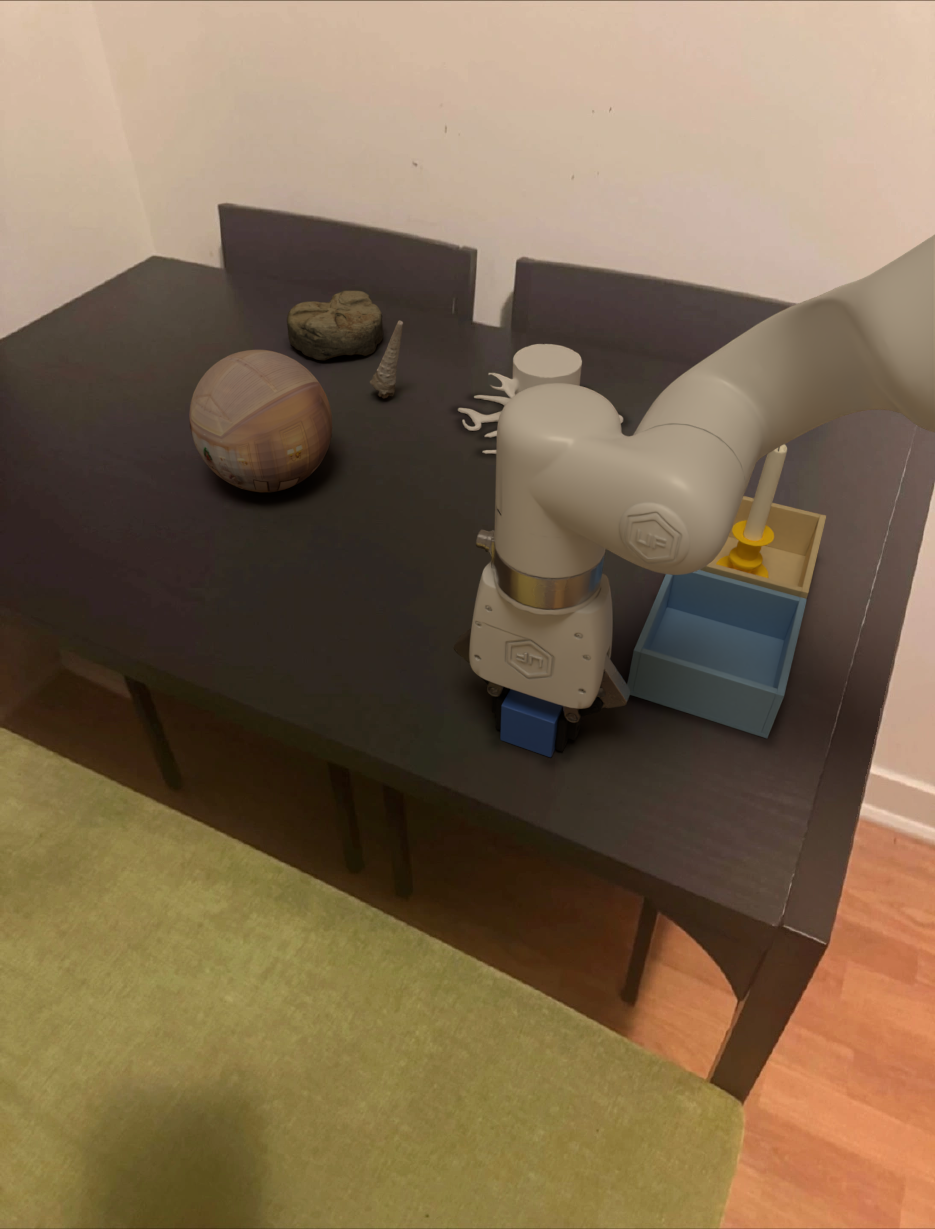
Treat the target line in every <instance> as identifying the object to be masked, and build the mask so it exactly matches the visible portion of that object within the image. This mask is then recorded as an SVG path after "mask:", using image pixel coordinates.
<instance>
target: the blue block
mask: <svg viewBox="0 0 935 1229" xmlns="http://www.w3.org/2000/svg"><path fill="white" fill-rule="evenodd" d="M562 710H563V707H562V705H559V704H556V703H552V702H549V701H546V700H543V699H540V698H537V697H534V696H531V695H528V694H525V693H522V692H519V691H516V690H513V689H510V691H509V693H508V694H507V696H506V698H505V700H504V702H503V704H502V708H501V730H500V736H499V737H500V738H499V739H500V741H502V742H505V743H508V744H511V745H513V746H517V747H519V748H522V749H525V750H527V751H531V752H534V753H536V754H539V755H543V756H545V757H548V758H552V757H553V755H554V752H555V751H556V748H555V740H556V731H557V722H558V718H559V716H560V714H561V712H562Z"/></svg>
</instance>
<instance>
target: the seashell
mask: <svg viewBox="0 0 935 1229" xmlns="http://www.w3.org/2000/svg"><path fill="white" fill-rule="evenodd" d="M403 327H404V321H402V320H397V323H396V325H395V327H394V330H393V332H392V335H391V337H390V340H389V341H388V344H387V347H386V348H385V352H384V354H383V356H382V359H381V361H380V363H379V366H378V367H377V368H376V370H375V371H376V372H375V373H374V374H373V376H372V378H371V379H370V380H369V384H370V385H371V386H372V387H373V389H375V390H376V391H378V394H377V396H378V397H379V398H382V399H387V398H388V397H393V396H394V394H395V391H396V383H397V381H396V380H397V370H398V362H399V354H400V347H401V342H402V340H401V339H402V334H403Z"/></svg>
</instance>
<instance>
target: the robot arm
mask: <svg viewBox="0 0 935 1229" xmlns="http://www.w3.org/2000/svg"><path fill="white" fill-rule="evenodd" d="M878 410H879V411H889V412H894V413H898V414H901V415H903V416H904V417H905V418H906V419H908V421H910V422H911V423H913V424H914V425H915V426H917V427H919V428H921V429H924V430H926V431H928V432H930V433H935V233H934V234H933V235H931V236H929V237H928V238H927V239H925V240H923V241H922V242H920V243H919V244H918V245H916V246H915V247H913V248H911V249H909V250H908V251H907V252H904V254H902V255H900V256H898V257H897V258H895V259H893V260H892V261H890V262H889V263H887V264H885V265H884V266H882V267H881V268H879V269H877V270H875V271H874V272H872V273H870V274H868V275H866V276H864V277H862V278H859V279H857V280H855V281H851V282H848V283H845V284H842V285H839V286H837V287H834V288H832V289H830V290H828V291H826V292H823V293H822V294H818V295H817V296H814V297H811V298H809V299H807V300H804V301H801V302H798V303H796V304H793V305H791V306H788V307H787V308H785V309H783V310H781V311H778V312H777V313H775V314H773V315H771V316H769V317H767V318H766V319H764V320H762V321H760V322H758V323H757V324H755V325H754V326H753V327H750V328H749V329H748V330H746V331H745V332H743V333H741V334H740V335H739V336H737V337H734V339H732V340H730V342H728V343H727V344H725V345H723V346H721V348H718V349H717V350H716V351H714V352H712V354H710V355H708V356H707V357H705V358H704V359H702V360H701V361H699V362H698V363H697V364H695V365H694V366H692V367H691V368H689V369H687V370H686V371H685V372H683V373H682V374H681V375H680V376H678V377H677V378H676V379H674V380H673V381H672V382H671V383H669V385H667V386H666V388H665V389H663V391H661V392H660V394H659V395H658V396H657V397H656V399H654V400H653V402H652V404H651V405H650V407H649V408H648V409H647V411H646V413H645V414H644V416H643V417H642V419H641V420H640V422H639V424H638V425H637V428H636V429H635V431H634V432H633V434H632V435H630V436H629V435H625V434H623V432H622V423H621V422H620V418H619V415H620V414H619V413H618V411H617V409H616V407H615V406H614V405H613V403H612V402H611V401H610V400H609V399H607V398H606V397H605V396H604V395H602V394H601V393H598V392H597V391H596V390H592V389H591V388H588V387H584V386H583V385H580V386H578V385H573V384H564V383H551V384H542V385H537V386H533V387H531V388H528V389H525V390H523V391H521V392H520V393H518V394H516V395H515V396H513V397H512V398H511V399H510V400H509V401H508V402H507V404H506V405H505V406H504V405H503V407H502V410H501V411H502V412H501V414H500V416H499V420H498V422H497V426H496V427H497V428H496V430H497V436H496V445H495V446H496V449H495V450H496V454H495V490H494V491H495V492H494V494H495V497H494V498H495V500H494V529H492V530H490V531H488V530H485V529H480V530H479V531H478V533H477V536H476V539H475V540H476V541H475V546H476V548H478V549H481V550H484V551H485V553H488V554H489V556H490V561H489V562H488V563H487V564H486V565H485V566H484V568H483V570H482V574H481V576H480V579H479V580H480V581H479V582H478V588H477V592H476V596H475V602H474V607H473V608H474V609H473V614H472V615H473V616H472V620H471V627H470V628H468V629H467V630H466V631H465V632H463V633H462V634H461V635H459V637H458V639H457V640H456V642H455V644H454V645H453V648H452V649H453V651H454V652H455V653H456V654H457V655H459V657H461V658H462V659H463V660H465V661H466V662H467V663H468V664H469V665H470V668H471V670H472V671H473V673H475V674H476V675H477V676H479V678H480V679H482V680H483V682H485V684H486V685H487V687H486V692H487V693H488V695H490V696H491V698H492V699H491V712H492V713H494V714H495V729H496V730H499V731H501V708H502V704H503V702H504V700H505V698H506V696H507V694H508V693H509V691H510V689H513V690H516V691H519V692H522V693H525V694H528V695H531V696H534V697H537V698H540V699H543V700H546V701H549V702H552V703H556V704H559V705H562V707H563V710H562V712H561V714H560V716H559V718H558V722H557V731H556V740H555V751H559V752H564V749H565V747H566V745H567V743H568V740H569V739H570V740H572V741H576V739H577V737H578V735H579V732H580V729H581V725H582V717H585V716H588V715H591V714H595V713H597V712H601V711H602V709H603V708H604V709H605V708H606V709H612V708H619V707H624V706H626V705H627V704H628V701H629V698H630V696H631V695H630V694H631V690H630V688H629V687H628V685H627V682H626V681H625V679H624V677H623V676H622V675H621V673H620V672H619V670H618V669H617V667H616V666H615V664H614V663H613V661H612V660H611V656H612V648H613V647H612V646H613V630H614V628H613V627H614V622H613V620H614V618H613V617H614V616H613V615H614V614H613V599H612V593H611V592H612V591H611V586H610V585H611V584H610V579H609V578H608V575H606V574H605V573H603V572H604V566H605V558H606V551H609V552H610V553H612V554H614V555H616V556H618V557H620V558H622V559H623V560H625V561H627V562H629V563H631V564H633V565H636V566H638V567H639V568H643V569H646V570H648V571H651V572H654V573H658V574H664V575H666V574H669V575H682V574H688V573H692V572H695V571H698V570H700V569H702V568H704V567H705V566H707V565H708V564H709V563H710V562H712V561H713V560H714V559H715V558H716V557H717V555H718V554H719V553H720V552H721V550H722V548H723V546H724V545H725V543H726V541H727V539H728V536H729V533H730V531H731V529H732V526H733V523H734V521H735V518H736V515H737V513H738V510H739V507H740V505H741V502H742V499H743V496H745V493H746V491H747V489H748V485H749V483H750V480H751V477H752V475H753V472H754V470H755V468H756V465H757V464H758V463H757V462H758V461H759V460H760V459H762V458H764V457H765V456H767V454H768V453H770V452H772V451H773V450H775V449H777V448H779V447H780V446H782V445H784V444H785V445H786V444H787V443H789V442H791V441H794V440H795V439H797V438H799V437H801V436H802V435H805V434H806V433H808V432H810V431H812V430H814V429H816V428H818V427H820V426H822V425H825V424H827V423H829V422H831V421H834V420H837V419H839V418H842V417H845V416H849V415H852V414H854V413H860V412H865V411H878ZM618 414H619V415H618Z"/></svg>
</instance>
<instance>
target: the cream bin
mask: <svg viewBox="0 0 935 1229" xmlns="http://www.w3.org/2000/svg"><path fill="white" fill-rule="evenodd" d="M753 500H754V497H749V496H746V495H744V496H743V499H742V502H741V505H740V507H739V510H738V513H737V515H736V518H735V521H734V523H733V526H734V525H735V524H736V523H738V522H740V521H744V520H748V517H749V513H750V510H751V507H752V503H753ZM826 520H827V515H825V514H821V513H817V512H812V511H808V510H804V509H800V508H796V507H792V506H788V505H784V504H779V503H775V502H772V505H771V508H770V512H769V515H768V518H767V522H766V525H767V526H768V527H770V529H771V530H772V531H773V533H774V539H773V541H772V542H771V543H770V544H768V545H765V546H761V551H760V553H761V555H762V557H763V561H762V564H763V565H764V566H765V567H766V569H767V571H768V574H769V578H765V577H761V576H758V575H754V574H750V573H746V572H743V571H739V570H735V569H731V568H728V567H724V566H720V565H716V562H717V561H718V560H719V559H720V558H722V557H724V556H728V555H729V553H730V551H731V550H732V549H733V548H735V547H737V543H738V540H737V539H736V538H735V537H734V535H733V533H732V529H731V531H730V533H729V536H728V539H727V541H726V543H725V545H724V546H723V548H722V550H721V552H720V553H719V554H718V555H717V557H716V558H715V559H714V560H713V561H712V562H710V563H709V564H708V565H707V566H705V567H704V568H702V569H700V570H701V571H705V572H709V573H712V574H716V575H720V576H723V577H727V578H731V579H735V580H738V581H742V582H746V583H749V584H753V585H757V586H761V587H764V588H768V589H772V590H775V591H779V592H783V593H786V594H790V595H794V596H798V597H801V598H805V599H807V598H808V596H809V592H810V587H811V583H812V579H813V575H814V570H815V566H816V563H817V558H818V555H819V554H818V553H819V549H820V546H821V541H822V537H823V532H824V528H825V523H826ZM733 526H732V528H733Z"/></svg>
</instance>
